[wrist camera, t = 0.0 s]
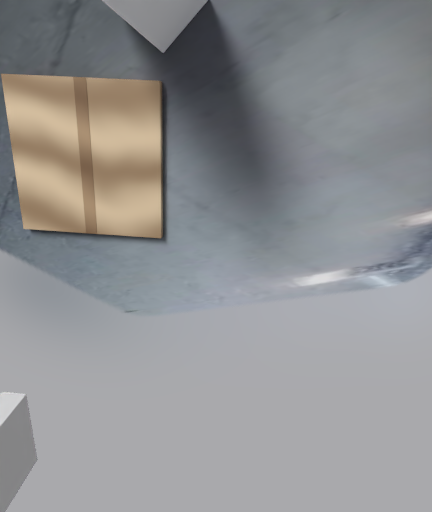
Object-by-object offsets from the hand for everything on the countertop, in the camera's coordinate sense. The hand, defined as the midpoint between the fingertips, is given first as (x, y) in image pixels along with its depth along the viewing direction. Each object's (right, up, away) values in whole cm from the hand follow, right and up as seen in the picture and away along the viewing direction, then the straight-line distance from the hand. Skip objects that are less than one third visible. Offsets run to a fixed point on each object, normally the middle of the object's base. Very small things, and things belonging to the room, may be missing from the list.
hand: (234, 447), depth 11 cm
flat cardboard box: (-13, +16, +25) cm, 33 cm away
